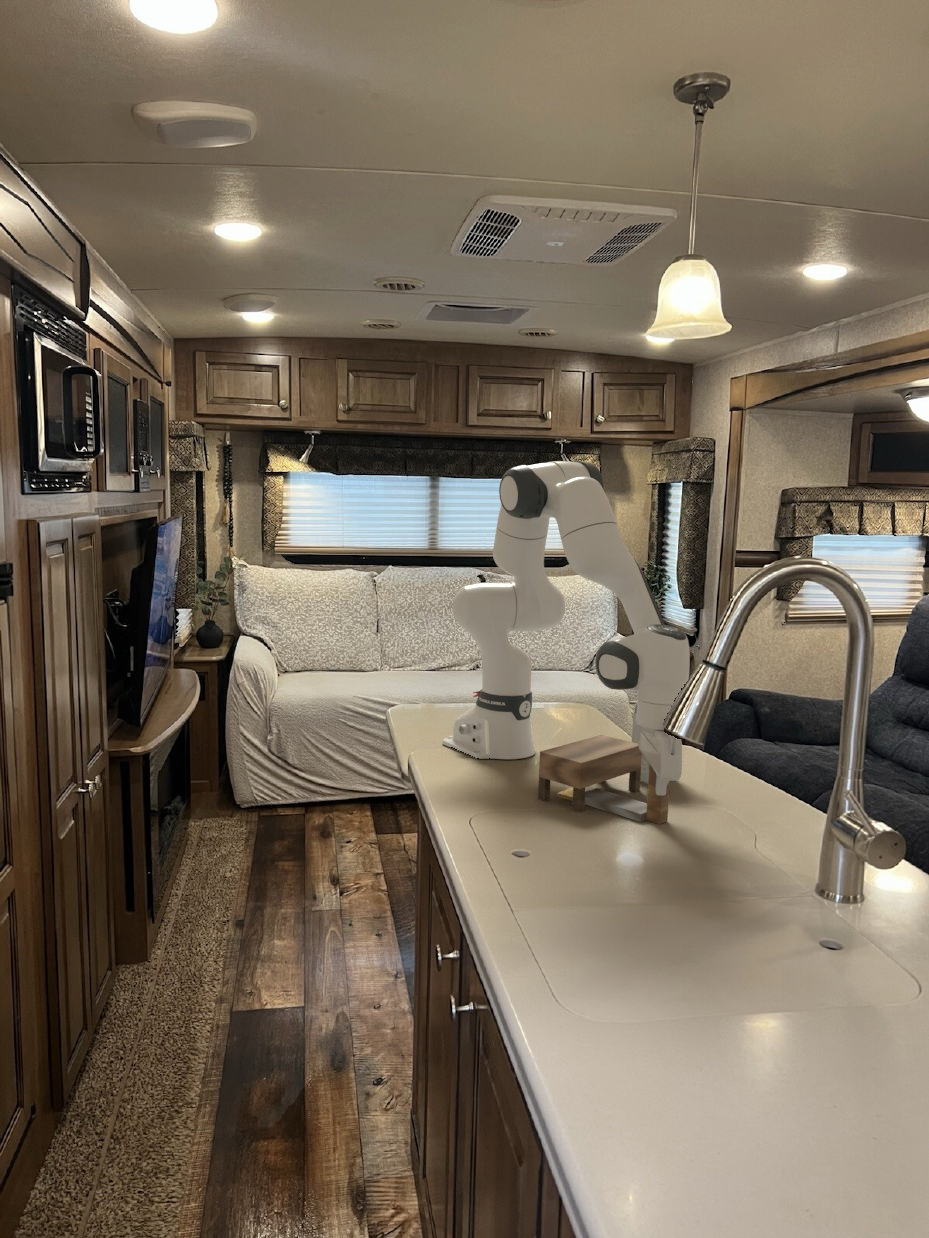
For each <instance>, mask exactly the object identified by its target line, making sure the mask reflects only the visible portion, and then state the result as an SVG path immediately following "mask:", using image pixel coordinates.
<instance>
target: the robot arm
mask: <svg viewBox="0 0 929 1238" xmlns="http://www.w3.org/2000/svg"><path fill="white" fill-rule="evenodd" d="M498 487H499V488H498V489H499V490H498V491H499V492H498V494H499V499H500V503H501V505H500V509H499V513H498V518H497V523H496V529H495V536H494V540H493V541H494V542H493V543H494V544H493V549H492V557H493V561H494V563H495V565H496V566H497V567H498V568H499V569H500V570H501V571H503V572H505V573H506V574H509V575H510V576H513V581H510V582H477V583H473V584H468V585H464V586H462V587H460V589H459V590H458V591H457V593H455V596H454V599H453V603H452V613H453V616H454V618H455V621H456V622H457V624H458V626H460V627H461V628H462V629H463V630H465V631H466V632H467V633H468V634H469V635H470V637H472V639H473V640H474V642H475V643H476V645H477V647H478V650H479V653H480V656H481V657H480V658H481V667H482V668H481V670H482V685H481V689H480V690H478V691H473V692H472V693H473V696H472V697H474V698H477V699H476V701H475V705H473V706H472V707H470V708H469V709H468V710H466V711H464V713H462V714H460V715H459V716H458V717H457V718H456V720H455V721H454V724H453V730H452V735H448V736H446V737H445V738H443V739H442V745H444V746H446V747H448V748H451V747H453V748H455V749H459V750H461V751H463V752H464V753H463V754H465V753H468V754H469V755H471V756H470V757H472V756H474V757H475V758H474V757H473V758H474V759H477V758H479V759H478V760H480V759H481V760H484V759H489V758H490V759H493V760H495V759H496V760H518V759H526V758H529V757H532V756H534V755H535V754H536V748H535V745H534V740H533V732H532V721H531V720H532V719H531V714H532V707H533V692H532V690H531V689H532V687H531V686H532V683H531V682H532V661H531V658H530V656H529V654H528V653H527V652H526V651H524V650H523V649H521V648H520V647H518V646H516V645H514V644H511V643H510V641H509V635H508V634H509V632H538V631H539V632H541V631H545V630H549V629H552V628H556V627H558V625H560V624H561V622H562V620H563V618H564V615H565V613H566V602H565V597H564V595H563V594H562V592H561V591H560V589H559V588H558V587H557V586H555V584H553V583H552V582H551V581H550V579H549V578H548V576H547V574H546V571H545V570H546V569H545V551H546V545H547V537H548V531H549V525H550V518H554V519H555V521H556V523H557V527H558V531H559V536H560V540H561V544H562V548H563V551H564V555H565V558H566V560H567V562H568V564H569V566H570V567H571V569H572V570H573V571H574V572H575V573H576V574H577V575H579V576H580V577H582V578H584V579H586V580H588V581H591V582H594V583H596V584H598V585H601V586H602V587H605V588H607V590H610V591H611V592H612V593H613V594H614V595H616V597H617V598H618V599H619V600H620V603H621V604H622V606H623V609H624V612H625V614H626V616H627V619H628V621H629V625H630V626H631V628H632V631H633V634H630V635H628V636H623V637H619V638H615V639H611V640H609V641H605V642H604V643H603V644H602V645H601V646H600V647H599V649H598V650H597V653H596V656H595V661H594V662H595V664H594V665H595V671H596V675H597V678H598V679H599V680H600V682H601V684H603V685H604V686H605V687H607V688H608V689H611V690H616V691H627V690H634V691H635V692H637V700H636V701H637V702H636V703H634V704H635V705H634V711H635V714H636V723H637V731H638V746H639V750H640V751H641V753H642V754H643V756H644V757H645V758H646V760H647V765H648V773H649V765H651V767H652V768H653V769H654V771H655V772H656V777H657V779H656V783H655V793H656V794H657V795H666V787H667V784H668V781H669V780H670V782H673V781H680V779H681V778H682V771H683V770H682V769H683V766H682V765H683V742H682V739H677V738H675V737H674V736H671V735H668V734H667V733H665V732H664V719H665V718H666V716H667V713H668V712H669V711H670V709H671V706H672V705H673V703H674V700H675V698H676V697H677V696H678V693H679V692H680V691H681V688H683V687H684V684H686V682H687V681H688V682H689V678H690V662H691V661H690V660H691V657H690V655H691V654H690V653H691V652H690V651H691V650H690V643H689V639H688V637H687V634H686V633H685V632H684V631H683V630H681V629H679V628H678V627H675V626H673V625H668V624H667V625H666V624H665V621H664V618H663V617H662V615H661V613H660V609H659V606H658V605H657V602H656V600H655V597H654V595H653V593H652V590H651V588H650V585H649V584H648V581H647V579H646V576H645V573H644V572H643V570H642V568H641V567H640V565H639V563H638V562H637V561H636V560H635V558H633V556H632V555H631V553H630V551H629V550H628V547H627V546H626V544H625V542H624V540H623V537H622V534H621V532H620V529H619V526H618V522H617V520H616V515H615V513H614V510H613V508H612V505H611V503H610V500H609V498H608V496H607V494H606V492H605V491H604V489H605V482H604V478H603V475H602V473H601V470H600V469H599V468H598V466H596V465H595V464H594V463H591V462H588V461H585V460H584V461H582V460H574V461H569V460H568V461H567V460H563V461H561V460H557V461H553V460H552V461H547V462H541V463H535V464H530V465H526V464H521V465H518V466H513V467H511V468H509V469H508V470H506V471H505V472H504V474H503V475H502V478H501V480H500V483H499V486H498ZM688 682H687V683H688ZM453 748H452V749H453ZM455 749H454V750H455ZM469 755H468V756H469ZM648 781H649V780H648Z"/></svg>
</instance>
